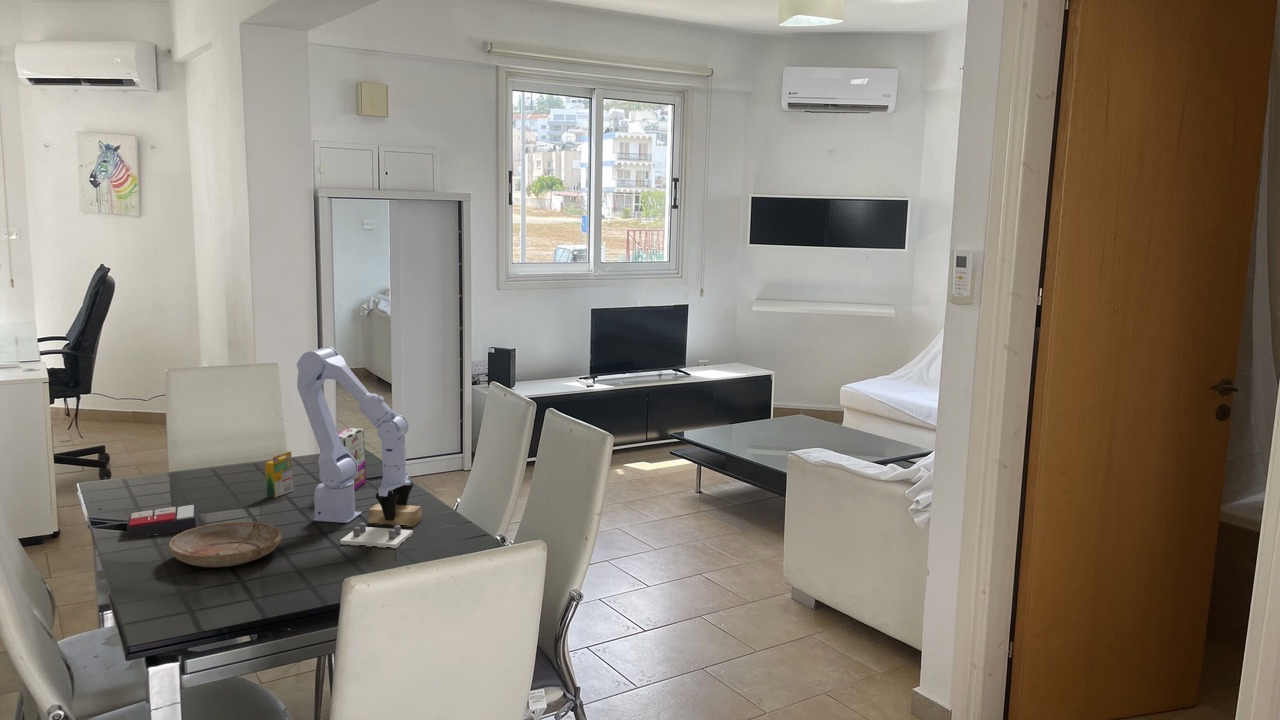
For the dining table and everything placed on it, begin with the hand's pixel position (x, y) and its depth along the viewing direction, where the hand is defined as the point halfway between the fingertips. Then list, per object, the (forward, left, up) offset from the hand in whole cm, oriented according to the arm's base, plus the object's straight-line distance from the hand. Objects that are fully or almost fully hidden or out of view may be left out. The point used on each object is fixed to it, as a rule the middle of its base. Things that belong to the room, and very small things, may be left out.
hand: (395, 515), depth 240 cm
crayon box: (-41, +16, -2) cm, 44 cm away
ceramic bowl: (-27, -31, -2) cm, 41 cm away
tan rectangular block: (0, 0, -2) cm, 2 cm away
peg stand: (+1, -13, -2) cm, 13 cm away
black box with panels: (-54, -16, -2) cm, 56 cm away
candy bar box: (-25, +25, -2) cm, 35 cm away
